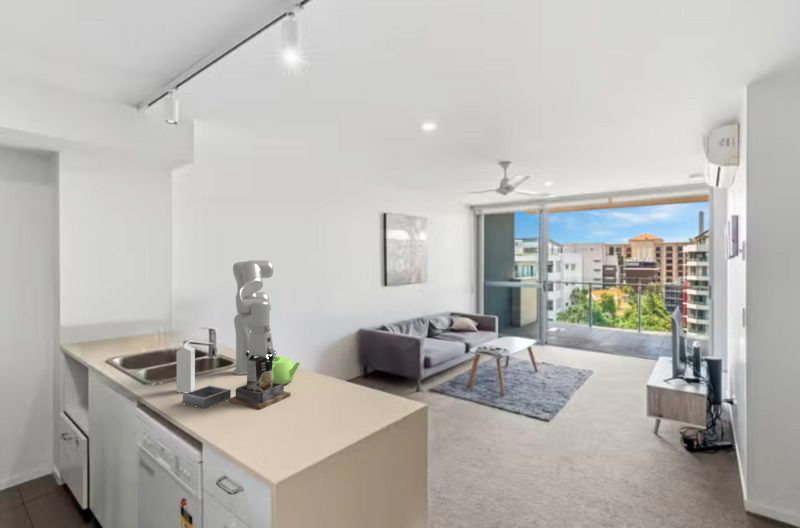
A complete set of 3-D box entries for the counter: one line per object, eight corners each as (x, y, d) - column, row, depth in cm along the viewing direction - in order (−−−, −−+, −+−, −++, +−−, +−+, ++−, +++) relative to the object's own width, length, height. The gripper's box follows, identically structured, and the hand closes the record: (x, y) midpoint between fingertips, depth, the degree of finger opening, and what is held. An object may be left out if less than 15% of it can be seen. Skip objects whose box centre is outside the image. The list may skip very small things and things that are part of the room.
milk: (176, 393, 181) (176, 344, 180) (181, 389, 187) (180, 341, 186) (191, 392, 182) (190, 344, 182) (195, 388, 188) (194, 341, 188)
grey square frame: (209, 394, 180) (209, 385, 180) (230, 399, 174) (230, 389, 174) (182, 403, 168) (182, 394, 168) (204, 409, 162) (204, 399, 162)
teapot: (306, 377, 207) (306, 352, 206) (292, 390, 187) (292, 362, 187) (271, 376, 208) (271, 351, 208) (253, 388, 188) (253, 360, 188)
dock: (259, 390, 186) (260, 378, 186) (290, 395, 178) (290, 383, 178) (228, 402, 170) (228, 389, 170) (260, 409, 162) (260, 395, 162)
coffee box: (257, 400, 169) (257, 361, 169) (246, 397, 172) (246, 359, 171) (273, 393, 177) (273, 356, 177) (262, 391, 180) (262, 355, 180)
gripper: (281, 329, 174) (281, 369, 174) (251, 326, 181) (251, 364, 181) (269, 332, 167) (269, 374, 167) (238, 329, 174) (238, 369, 174)
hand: (260, 369), depth 174 cm, fingers open, 9 cm apart
